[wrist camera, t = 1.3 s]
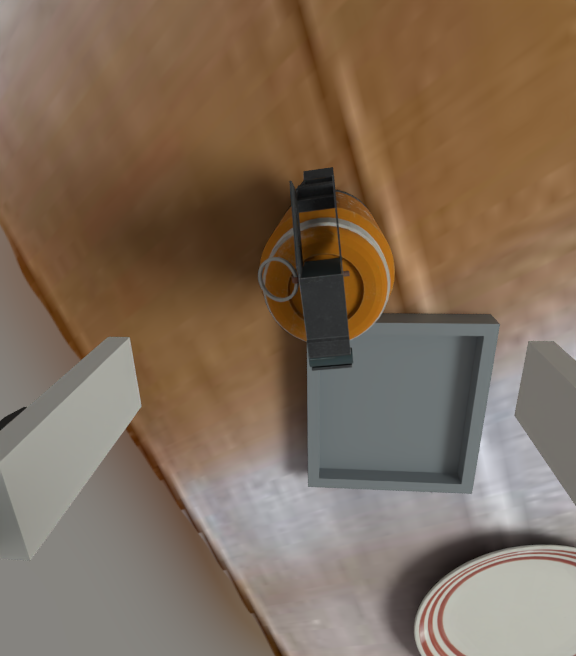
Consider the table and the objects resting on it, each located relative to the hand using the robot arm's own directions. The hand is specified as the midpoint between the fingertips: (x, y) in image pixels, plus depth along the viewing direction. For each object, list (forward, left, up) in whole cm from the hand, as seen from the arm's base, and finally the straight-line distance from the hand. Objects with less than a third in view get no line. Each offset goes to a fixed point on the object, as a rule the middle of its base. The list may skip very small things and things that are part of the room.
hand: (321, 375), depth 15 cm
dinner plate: (+48, +25, -29) cm, 61 cm away
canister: (0, 0, -28) cm, 29 cm away
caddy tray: (+18, +7, -28) cm, 34 cm away
